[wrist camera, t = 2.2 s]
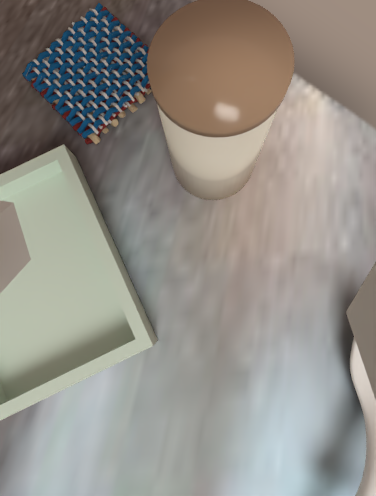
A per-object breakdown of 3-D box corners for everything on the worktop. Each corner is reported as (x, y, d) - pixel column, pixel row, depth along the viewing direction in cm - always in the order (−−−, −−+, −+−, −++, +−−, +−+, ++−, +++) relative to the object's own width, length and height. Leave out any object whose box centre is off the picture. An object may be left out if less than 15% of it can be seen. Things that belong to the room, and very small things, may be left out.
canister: (158, 144, 28) (124, 34, 16) (231, 109, 28) (251, -26, 16) (193, 215, 27) (185, 154, 15) (269, 178, 27) (321, 88, 15)
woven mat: (177, 78, 29) (175, 62, 27) (94, 152, 28) (86, 142, 26) (105, 12, 31) (98, -7, 29) (26, 82, 30) (13, 67, 28)
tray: (-63, 223, 28) (-89, 216, 25) (76, 157, 28) (63, 144, 25) (4, 415, 25) (-17, 428, 23) (158, 340, 25) (153, 345, 23)
